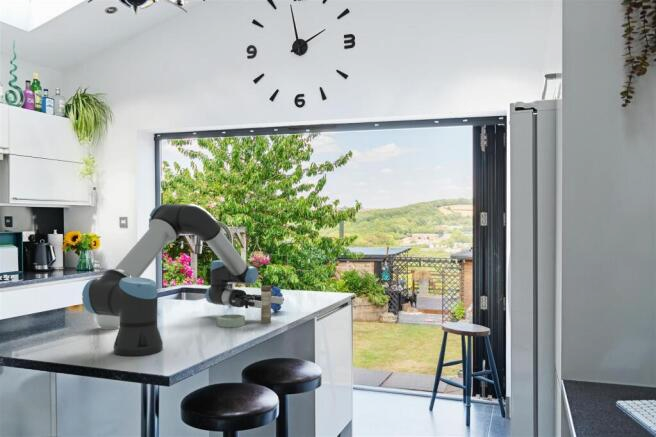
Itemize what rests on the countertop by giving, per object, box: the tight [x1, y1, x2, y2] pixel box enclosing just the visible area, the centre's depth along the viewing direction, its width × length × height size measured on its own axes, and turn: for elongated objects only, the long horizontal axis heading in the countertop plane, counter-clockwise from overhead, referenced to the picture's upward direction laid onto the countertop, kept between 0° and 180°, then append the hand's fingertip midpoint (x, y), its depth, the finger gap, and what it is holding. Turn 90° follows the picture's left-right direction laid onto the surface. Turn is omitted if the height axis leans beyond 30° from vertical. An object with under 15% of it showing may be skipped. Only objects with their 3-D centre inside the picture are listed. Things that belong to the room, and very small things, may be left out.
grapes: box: [271, 285, 285, 313], centre depth 251 cm, size 12×7×12 cm, turn 159°
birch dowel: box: [260, 285, 272, 324], centre depth 227 cm, size 4×4×15 cm
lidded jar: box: [95, 314, 120, 330], centre depth 214 cm, size 11×11×9 cm
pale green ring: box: [216, 314, 246, 328], centre depth 222 cm, size 11×11×3 cm
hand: (272, 302), depth 225 cm, fingers open, 12 cm apart
